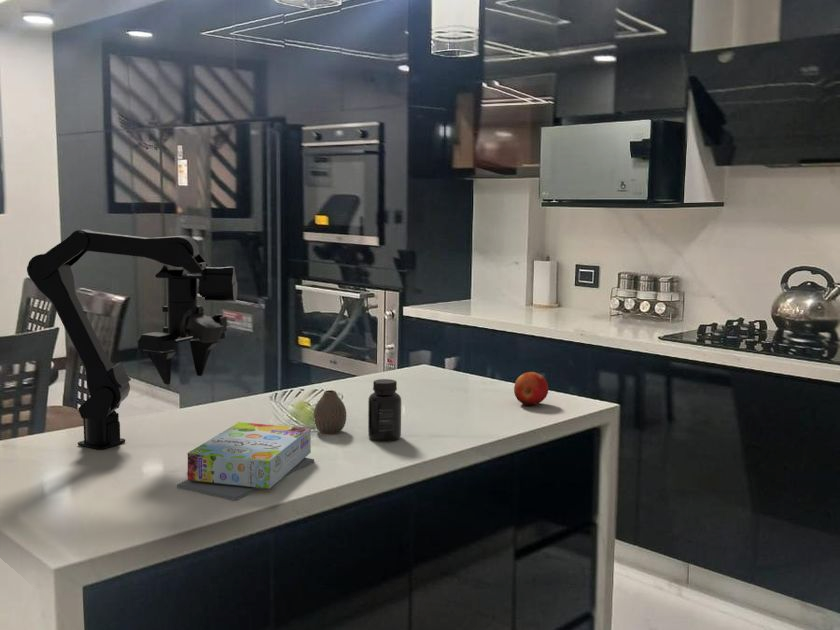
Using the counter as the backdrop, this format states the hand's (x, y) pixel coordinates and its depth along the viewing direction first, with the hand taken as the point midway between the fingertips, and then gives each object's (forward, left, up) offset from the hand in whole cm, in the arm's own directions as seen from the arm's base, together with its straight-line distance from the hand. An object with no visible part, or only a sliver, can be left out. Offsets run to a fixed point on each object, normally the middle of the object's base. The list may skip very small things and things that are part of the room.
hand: (183, 379), depth 165 cm
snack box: (+14, -9, -10) cm, 19 cm away
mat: (+22, -9, -13) cm, 27 cm away
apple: (+49, +67, -13) cm, 84 cm away
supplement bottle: (+32, +24, -13) cm, 42 cm away
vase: (+20, +22, -13) cm, 33 cm away
